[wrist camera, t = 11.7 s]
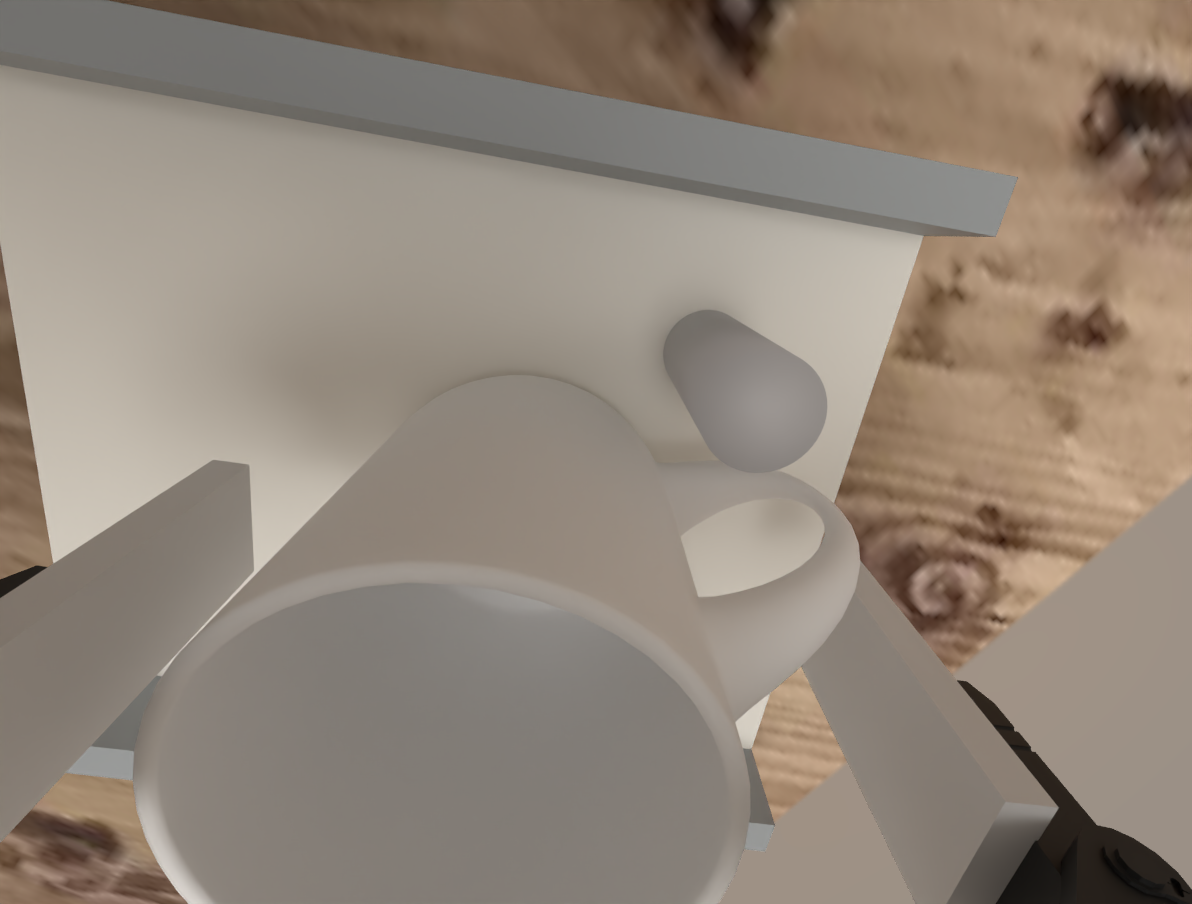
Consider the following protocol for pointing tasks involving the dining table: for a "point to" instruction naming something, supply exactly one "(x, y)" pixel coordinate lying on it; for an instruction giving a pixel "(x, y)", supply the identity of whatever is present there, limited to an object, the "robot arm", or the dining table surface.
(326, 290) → the channel board
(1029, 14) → the dining table surface
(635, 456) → the mug
